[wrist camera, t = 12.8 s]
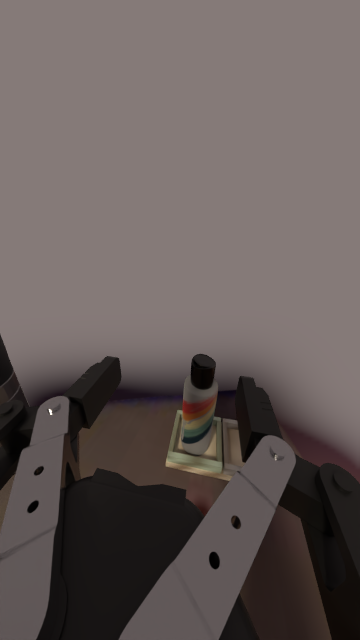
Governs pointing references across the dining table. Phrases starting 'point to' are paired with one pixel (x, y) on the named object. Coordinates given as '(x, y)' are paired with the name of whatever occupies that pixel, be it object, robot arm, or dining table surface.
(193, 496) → the dining table surface
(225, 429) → the cream flat tray
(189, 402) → the lotion bottle
